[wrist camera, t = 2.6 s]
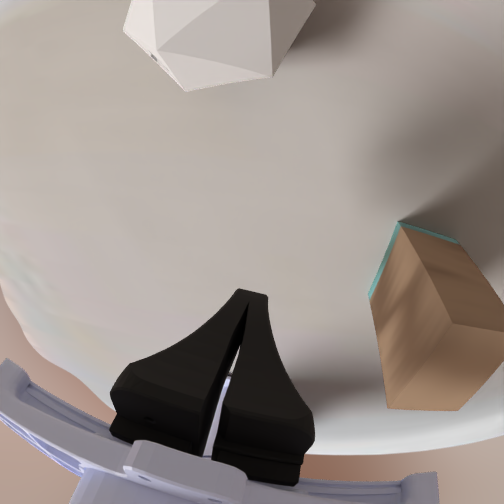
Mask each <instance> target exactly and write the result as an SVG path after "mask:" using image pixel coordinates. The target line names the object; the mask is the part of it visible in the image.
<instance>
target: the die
mask: <svg viewBox="0 0 504 504" xmlns="http://www.w3.org/2000/svg"><path fill="white" fill-rule="evenodd" d="M315 6H316V4H315V2H314V1H313V0H132V2H131V5H130V8H129V11H128V14H127V18H126V21H125V24H124V28H123V32H125V33H126V34H127V35H128V36H129V37H130V38H131V39H132V40H133V41H134V42H135V43H136V44H137V45H139V46H140V47H141V48H142V49H143V50H144V51H145V52H146V53H147V54H148V55H149V56H150V57H151V58H152V59H153V60H154V61H155V62H156V63H157V64H158V65H159V66H160V67H161V68H163V69H164V70H165V71H166V72H167V73H168V74H169V75H170V76H171V77H172V78H173V79H174V80H175V81H176V82H177V83H178V84H179V85H180V86H181V87H182V88H183V89H184V90H185V91H186V92H188V91H192V90H197V89H202V88H206V87H212V86H217V85H222V84H228V83H234V82H241V81H247V80H255V79H263V78H271V77H273V76H274V74H275V72H276V70H277V69H278V67H279V65H280V63H281V62H282V60H283V58H284V57H285V55H286V53H287V52H288V50H289V48H290V46H291V45H292V43H293V41H294V40H295V38H296V37H297V35H298V33H299V32H300V30H301V28H302V27H303V25H304V24H305V22H306V20H307V19H308V17H309V16H310V14H311V12H312V11H313V9H314V8H315Z"/></svg>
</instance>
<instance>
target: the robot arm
mask: <svg viewBox="0 0 504 504" xmlns="http://www.w3.org/2000/svg"><path fill="white" fill-rule="evenodd" d="M239 346H240V350H239V355H238V358H237V361H236V364H235V367H234V370H233V373H232V376H231V377H230V376H228V373H229V371H230V369H231V366H232V364H233V361H234V359H235V356H236V354H237V351H238V349H239ZM110 397H111V400H112V402H113V405H114V407H115V410H116V412H117V415H116V417H115V419H114V420H113V422H112V424H111V425H110V424H108V423H106V422H104V421H102V420H100V419H97V418H95V417H93V416H91V415H89V414H87V413H85V412H84V411H82V410H79V409H78V408H76V407H74V406H72V405H70V404H69V403H66V402H65V401H63V400H61V399H60V398H58V397H56V396H55V395H53V394H51V393H49V392H48V391H46V390H44V389H43V388H41V387H40V386H38V385H37V384H35V383H33V382H32V381H31V379H30V378H29V375H28V374H27V373H26V371H25V370H24V369H23V368H21V367H20V366H19V365H17V364H16V363H14V362H13V361H11V360H10V359H8V358H6V359H5V360H4V361H3V363H2V364H1V365H0V420H1V421H2V422H3V423H4V424H6V425H7V426H8V427H9V428H11V429H12V430H13V431H14V432H16V433H17V434H18V435H19V436H21V437H22V438H23V439H25V440H26V441H27V442H29V443H30V444H31V445H33V446H34V447H35V448H37V449H38V450H39V451H41V452H42V453H44V454H45V455H46V456H48V457H49V458H51V459H52V460H54V461H55V462H57V463H58V464H60V465H61V466H63V467H64V468H66V469H68V470H69V471H71V472H72V473H74V474H76V475H77V476H79V477H81V479H80V481H79V483H78V485H77V487H76V489H75V491H74V493H73V495H72V498H71V500H70V502H69V504H439V490H438V480H437V472H425V473H415V474H411V475H409V476H407V477H405V478H404V479H402V480H401V481H375V482H361V481H359V482H358V481H334V480H319V479H309V478H300V477H299V475H300V467H301V465H302V464H303V459H304V454H305V453H306V452H307V451H308V449H309V448H310V447H311V446H312V445H313V443H314V441H315V427H314V420H313V415H312V412H311V410H310V409H309V408H308V406H307V405H306V404H305V402H304V401H303V400H302V398H301V397H300V395H299V393H298V392H297V390H296V389H295V387H294V385H293V383H292V382H291V380H290V378H289V376H288V374H287V372H286V370H285V368H284V366H283V363H282V361H281V359H280V356H279V353H278V351H277V348H276V345H275V341H274V338H273V334H272V330H271V325H270V320H269V313H268V297H267V295H265V294H260V293H256V292H252V291H248V290H244V289H240V288H239V289H237V290H236V291H235V293H234V294H233V295H232V297H231V298H230V299H229V300H228V301H227V302H226V304H225V305H224V306H223V307H222V308H221V309H220V310H219V311H218V312H217V313H216V314H215V315H214V316H213V317H212V318H210V319H209V320H208V321H207V322H206V323H205V324H203V325H202V326H201V327H200V328H198V329H197V330H196V331H195V332H193V333H192V334H190V335H189V336H187V337H186V338H184V339H183V340H181V341H179V342H178V343H176V344H174V345H173V346H171V347H169V348H167V349H165V350H163V351H161V352H158V353H156V354H154V355H152V356H150V357H147V358H144V359H141V360H139V361H136V362H133V363H130V364H129V365H128V366H127V367H126V368H125V369H124V371H123V372H122V373H121V374H120V376H119V377H118V379H117V380H116V382H115V384H114V386H113V387H112V389H111V391H110Z"/></svg>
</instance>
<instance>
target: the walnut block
mask: <svg viewBox="0 0 504 504" xmlns="http://www.w3.org/2000/svg"><path fill="white" fill-rule="evenodd" d="M368 296H369V300H370V305H371V310H372V315H373V320H374V325H375V330H376V335H377V341H378V347H379V352H380V358H381V365H382V371H383V378H384V385H385V392H386V400H387V408H389V409H404V410H427V411H458V410H459V409H460V408H461V407H462V406H463V405H464V404H465V403H466V402H467V401H468V400H469V399H470V398H471V397H472V396H473V395H474V394H475V393H476V392H477V391H478V390H479V389H480V388H481V386H482V385H483V384H484V383H485V382H486V381H487V380H488V379H489V377H490V376H491V375H492V374H493V373H494V372H495V370H496V369H497V368H498V367H499V366H500V364H501V363H502V362H503V361H504V304H503V303H502V301H501V300H500V298H499V297H498V295H497V294H496V292H495V291H494V289H493V288H492V287H491V285H490V284H489V282H488V281H487V279H486V278H485V277H484V275H483V274H482V273H481V271H480V270H479V269H478V267H477V266H476V265H475V263H474V262H473V261H472V259H471V258H470V257H469V255H468V254H467V253H466V252H465V250H464V249H463V248H462V247H461V245H460V244H459V243H458V242H457V241H456V240H455V239H452V238H449V237H446V236H443V235H440V234H437V233H434V232H431V231H428V230H425V229H422V228H418V227H415V226H412V225H408V224H405V223H402V222H397V225H396V227H395V230H394V233H393V235H392V238H391V241H390V243H389V246H388V248H387V251H386V253H385V256H384V258H383V261H382V263H381V265H380V268H379V270H378V272H377V275H376V277H375V279H374V282H373V284H372V286H371V288H370V291H369V293H368Z"/></svg>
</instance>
